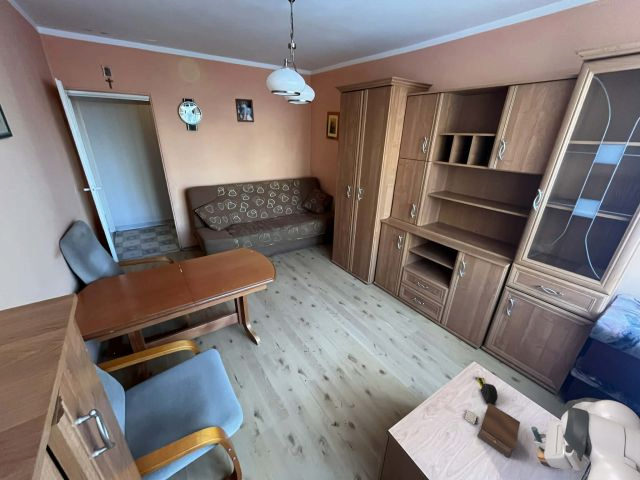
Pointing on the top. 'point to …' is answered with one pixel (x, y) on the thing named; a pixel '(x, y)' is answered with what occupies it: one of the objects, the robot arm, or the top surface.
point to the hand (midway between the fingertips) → (535, 439)
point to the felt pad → (471, 417)
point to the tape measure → (488, 392)
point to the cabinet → (499, 430)
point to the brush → (540, 450)
